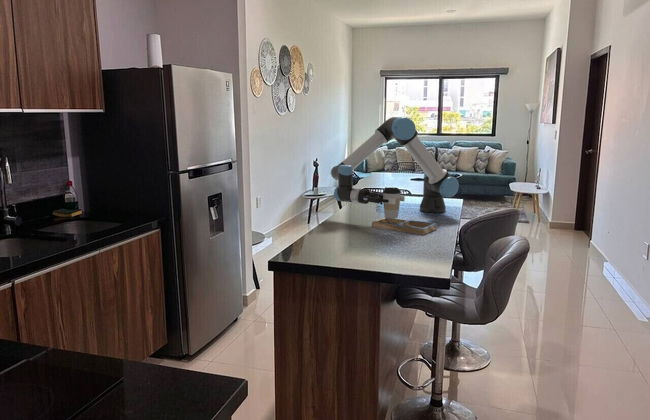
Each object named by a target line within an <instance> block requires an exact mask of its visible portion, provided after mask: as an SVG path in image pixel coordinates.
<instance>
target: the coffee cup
mask: <svg viewBox="0 0 650 420" xmlns="http://www.w3.org/2000/svg"><path fill="white" fill-rule="evenodd" d="M382 194H383V198H393V199H396V201H395V204H386V203H383V202H382V205H383V214H384V215H383V216H384V218H395V219H399V211H400V206H401V205H400V204H401V201H400V196H401V194H402V192H401V190H400V189H399V187H393V186H392V187H391V186H390V187H386V186H385V187H384V189H383V191H382Z"/></svg>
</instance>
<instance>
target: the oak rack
mask: <svg viewBox="0 0 650 420" xmlns="http://www.w3.org/2000/svg"><path fill="white" fill-rule="evenodd" d="M437 225H438V224H437V223H435V222H427V221H420V220H413V219H401V218H385V217H384V218H380V219H377V220H374V221H371V228H377V229H383V230H389V231H395V230H396V232H404V233H408V234H409V233H410V234H416V235H423V236H424V235H426V234H428V233H429V234H430V232H433V231H436V230H437V227H438V226H437Z"/></svg>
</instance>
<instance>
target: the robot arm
mask: <svg viewBox="0 0 650 420" xmlns="http://www.w3.org/2000/svg"><path fill="white" fill-rule="evenodd" d="M416 128H417V127H416V124H415V122H414V121H413V120H412V119H411V118H409V117H406V116H393V117H389V118H388V119H386V120H385V121H384V122H383V123H382V124H381V125H380V126H379V127H378V128H376V129H375V130H374V133H373V134H372V135H371V136H370V137H369V138H368V139H366V140H365V141H364V142H362V144H360V145H359V146H358V147H357V148H356V149H355V150H354V151H353V152H352V153H351V154H349V155H348V156H347V157H346V158H345V159H344V160H342V161H341V162H340V163H339V164H338V165H334V166H333V167H332V168H331V169H330V175H331V177H332V179H334V180H336V181H337V182H338V185H337V187H335V188H334V192H333V197H334V199H335V200H336V201H339V202H343V203H355V205H358V204H362V205H366V204H367V205H368V204H369V203H374V204H380V206H381V205H383V203H386V204H395V201H396V199H393V198H383V193H378V192H377V193H375V192H371V191H370V189H363V188H358V187H357V188H355V187H354V188H353V185H354V183H353V177H354V173H353V172H354V170H355V169H356V168H357V167H358V166H360V164H362V163H363V162H365V160H366V159H368V157H370V156H371V155H372V154H374V152H375V151H377V150H378V149H379V148H380V147H381V146H382V145H385V144H388V142H390V141H393V139H394V140H395V141H396V143H397V144H398V145H399V146H400V147H403V148H405V149H406V151H407V152H408V153H409V154H410V155H411V157H412V158H413V160H414V161H415V162H416V163H417V165H418V166H419V167H420V168H421V170H422V171H423V173H424V175H423V191H422V193H423V195H422V200H421V202H420V205H419V211H421V212H424V213H431V214H432V213H435V214H437V213H440V214H441V213H444V212H446V208H447V207H446V204H445V200H444V199H445V198H453V197H454V196H455V195H456V194H457V193H458V192H459V187H460V184H459V181H458V179H457V178H455V177H454V176H452V175H451V174H450V173H449V171H447V169H446V168H443V167H441V166H440V164H439V163H438V162H437V160H436V159H435V158H434V156H433V155H432V154H431V153H430V151H429V150H428V149H427V147H426V146H425V145H424V143H423V142H422V141H421V140H420V138H419V137H418V135H419V132H418V131H417V129H416ZM405 200H406V198H405V195H400V202H405Z"/></svg>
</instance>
